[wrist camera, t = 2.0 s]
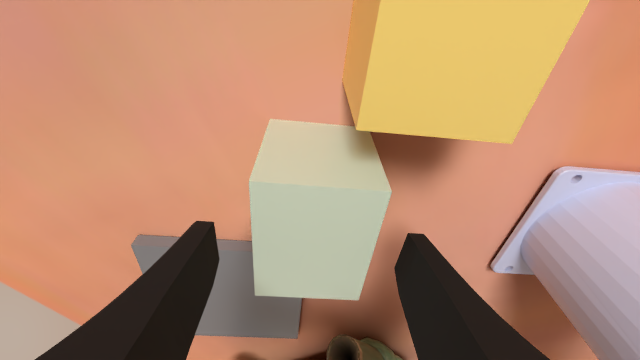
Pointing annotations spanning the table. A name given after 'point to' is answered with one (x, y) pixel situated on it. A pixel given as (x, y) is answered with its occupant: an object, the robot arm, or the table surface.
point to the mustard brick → (452, 64)
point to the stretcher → (358, 349)
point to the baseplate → (232, 293)
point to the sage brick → (315, 210)
